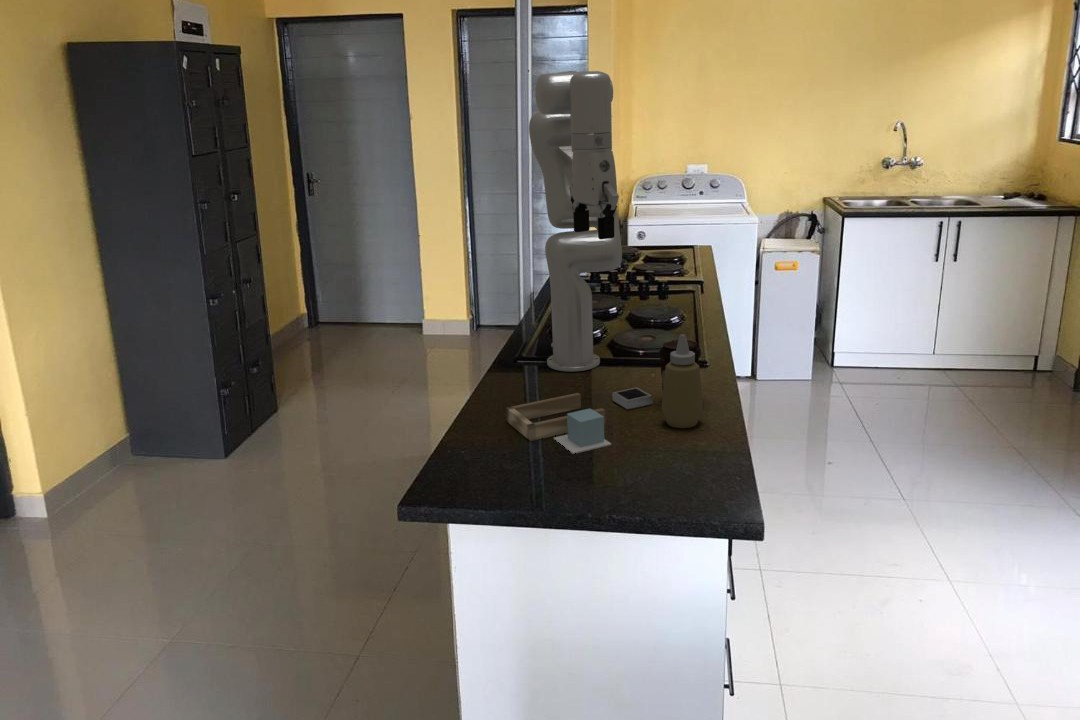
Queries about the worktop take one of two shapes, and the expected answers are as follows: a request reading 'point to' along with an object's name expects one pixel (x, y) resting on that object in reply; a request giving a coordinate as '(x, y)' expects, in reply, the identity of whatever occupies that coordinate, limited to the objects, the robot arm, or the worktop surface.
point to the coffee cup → (672, 346)
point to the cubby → (548, 428)
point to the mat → (574, 447)
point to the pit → (632, 398)
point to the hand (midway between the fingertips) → (593, 234)
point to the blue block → (585, 427)
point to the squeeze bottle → (682, 388)
